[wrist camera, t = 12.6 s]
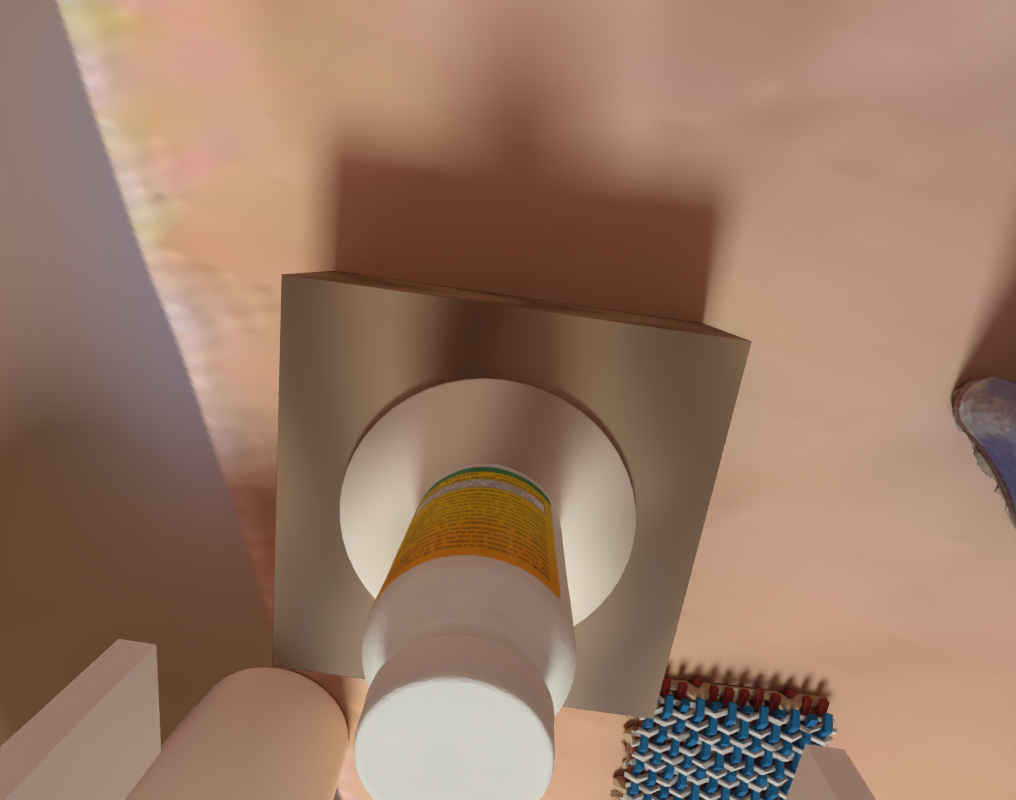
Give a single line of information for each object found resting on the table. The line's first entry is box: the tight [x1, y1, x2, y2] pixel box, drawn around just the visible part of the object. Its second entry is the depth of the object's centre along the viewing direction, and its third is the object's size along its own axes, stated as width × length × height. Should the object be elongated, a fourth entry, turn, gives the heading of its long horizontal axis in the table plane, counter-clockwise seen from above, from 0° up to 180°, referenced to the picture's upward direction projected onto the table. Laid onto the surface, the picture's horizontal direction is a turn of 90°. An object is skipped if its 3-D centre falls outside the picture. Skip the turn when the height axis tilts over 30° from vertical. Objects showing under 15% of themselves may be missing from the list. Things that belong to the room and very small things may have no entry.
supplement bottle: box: [354, 463, 576, 800], centre depth 15 cm, size 5×5×10 cm
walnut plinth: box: [272, 271, 751, 719], centre depth 22 cm, size 16×16×5 cm
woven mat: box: [610, 677, 837, 800], centre depth 28 cm, size 10×11×2 cm
